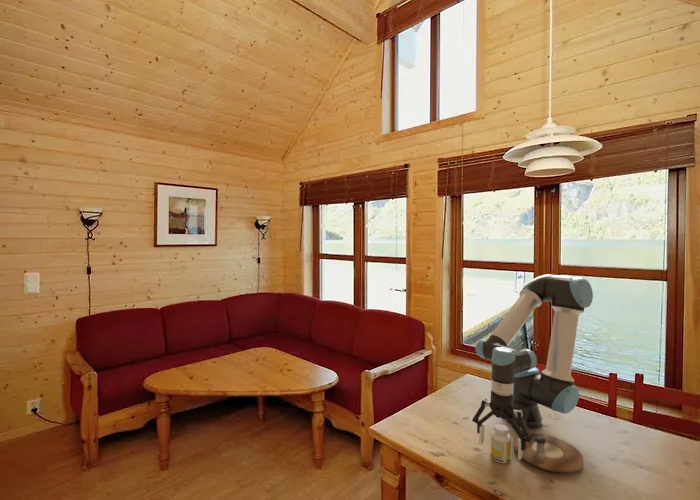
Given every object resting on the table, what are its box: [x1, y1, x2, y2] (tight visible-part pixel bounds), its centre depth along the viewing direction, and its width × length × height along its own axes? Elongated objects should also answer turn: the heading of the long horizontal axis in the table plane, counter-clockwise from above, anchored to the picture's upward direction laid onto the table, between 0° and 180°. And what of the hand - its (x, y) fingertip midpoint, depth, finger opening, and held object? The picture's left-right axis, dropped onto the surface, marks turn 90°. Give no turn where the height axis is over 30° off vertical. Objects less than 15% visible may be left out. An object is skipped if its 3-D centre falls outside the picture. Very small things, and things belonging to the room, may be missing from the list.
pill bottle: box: [490, 423, 512, 464], centre depth 130 cm, size 6×6×12 cm
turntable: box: [513, 432, 584, 474], centre depth 131 cm, size 22×22×9 cm
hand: (500, 450), depth 130 cm, fingers open, 13 cm apart
